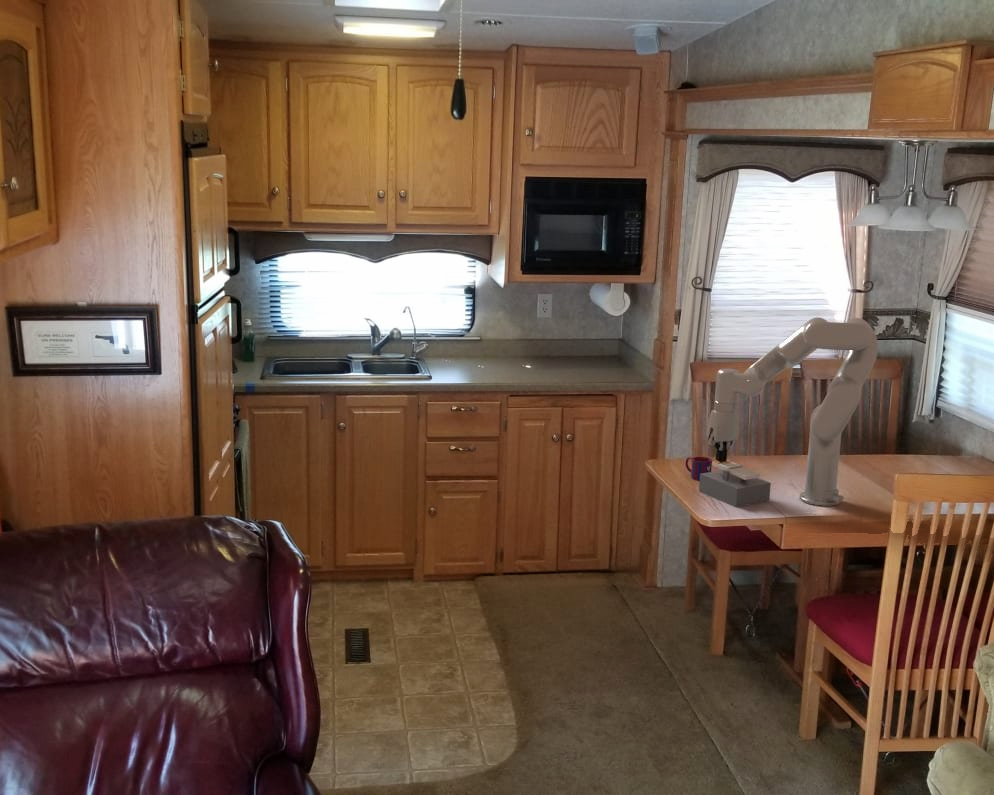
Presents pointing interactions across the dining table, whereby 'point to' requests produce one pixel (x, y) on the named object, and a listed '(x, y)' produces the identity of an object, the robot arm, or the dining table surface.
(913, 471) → the dining table surface
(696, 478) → the mug
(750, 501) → the switch box
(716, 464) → the rocker
